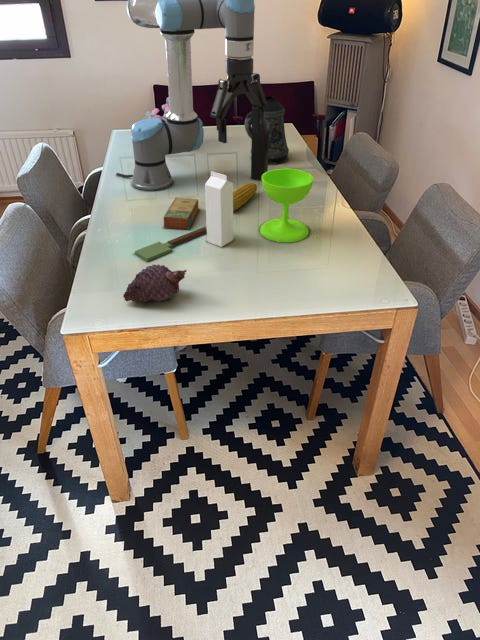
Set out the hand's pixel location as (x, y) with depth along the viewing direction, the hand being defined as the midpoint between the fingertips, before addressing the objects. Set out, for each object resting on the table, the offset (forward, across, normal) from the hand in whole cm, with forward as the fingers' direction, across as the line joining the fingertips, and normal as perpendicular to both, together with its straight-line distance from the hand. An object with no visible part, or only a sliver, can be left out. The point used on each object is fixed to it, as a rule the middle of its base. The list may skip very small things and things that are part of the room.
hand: (239, 137), depth 151 cm
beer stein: (+30, +56, +40) cm, 75 cm away
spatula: (+30, -22, +7) cm, 38 cm away
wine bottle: (+30, +38, +27) cm, 55 cm away
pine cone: (+30, -44, -13) cm, 55 cm away
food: (+30, +16, +15) cm, 37 cm away
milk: (+30, -10, -2) cm, 32 cm away
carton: (+30, -8, +20) cm, 37 cm away
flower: (+30, +35, +82) cm, 95 cm away
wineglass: (+30, +10, -11) cm, 34 cm away
